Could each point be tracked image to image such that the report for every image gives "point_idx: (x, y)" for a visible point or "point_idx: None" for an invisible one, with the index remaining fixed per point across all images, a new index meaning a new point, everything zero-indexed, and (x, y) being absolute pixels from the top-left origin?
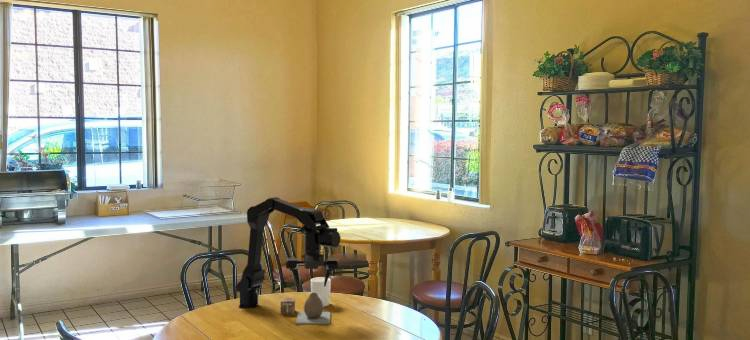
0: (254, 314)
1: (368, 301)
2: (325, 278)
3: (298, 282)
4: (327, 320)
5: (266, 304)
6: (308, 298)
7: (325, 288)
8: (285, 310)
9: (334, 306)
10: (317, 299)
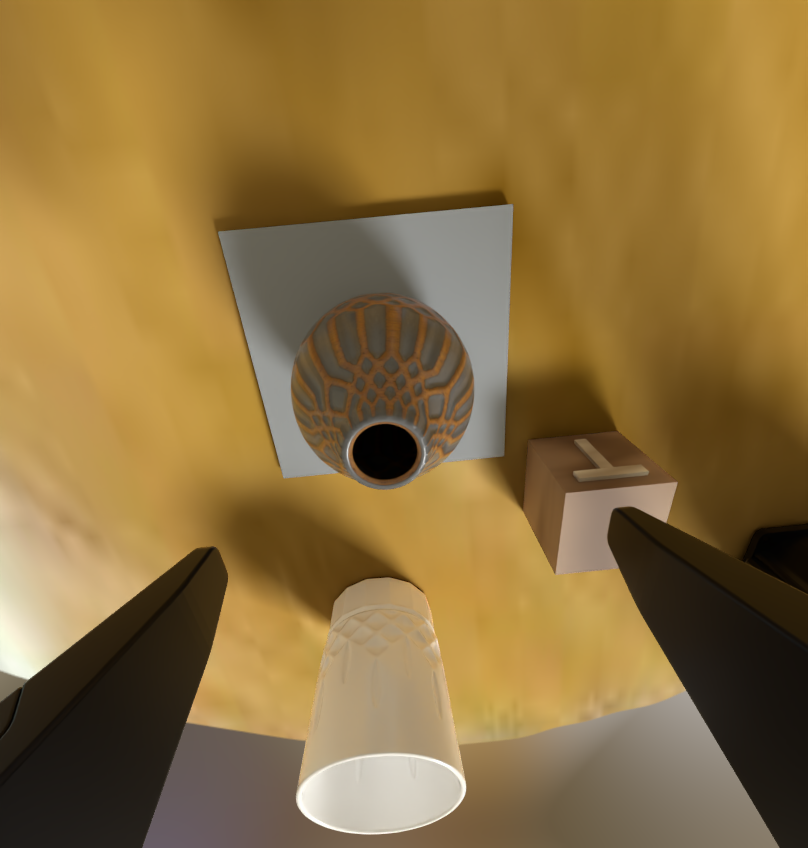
0: (788, 416)
1: None
2: (81, 680)
3: (692, 546)
4: (253, 284)
5: None
6: (442, 399)
7: (335, 699)
8: (598, 447)
9: (294, 591)
10: (329, 383)
